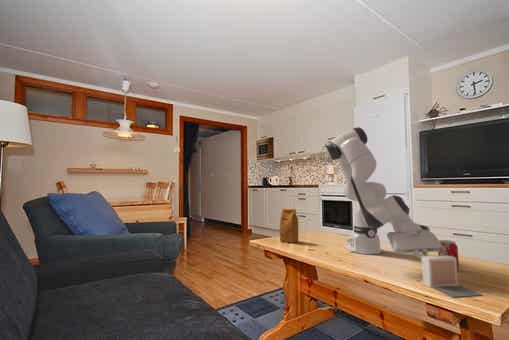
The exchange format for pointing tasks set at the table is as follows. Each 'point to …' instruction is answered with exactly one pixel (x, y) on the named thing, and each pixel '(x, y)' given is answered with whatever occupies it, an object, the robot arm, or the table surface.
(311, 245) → the table surface
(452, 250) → the soda can
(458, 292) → the mat
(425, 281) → the tile
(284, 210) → the coffee package
